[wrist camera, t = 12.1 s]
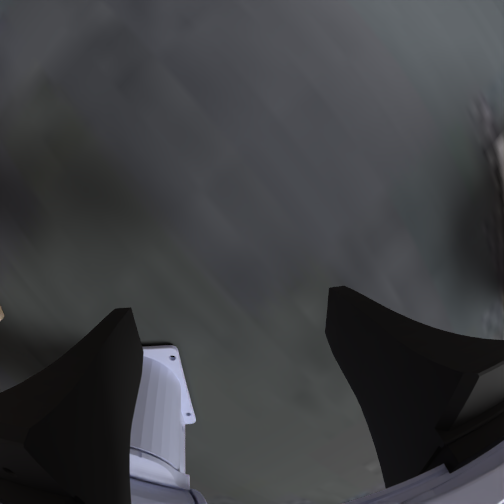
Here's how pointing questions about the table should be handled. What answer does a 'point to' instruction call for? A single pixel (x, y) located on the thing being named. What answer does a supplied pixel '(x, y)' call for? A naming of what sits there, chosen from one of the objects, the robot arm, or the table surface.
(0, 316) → the birch rack
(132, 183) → the table surface
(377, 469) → the table surface
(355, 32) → the table surface
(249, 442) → the table surface
